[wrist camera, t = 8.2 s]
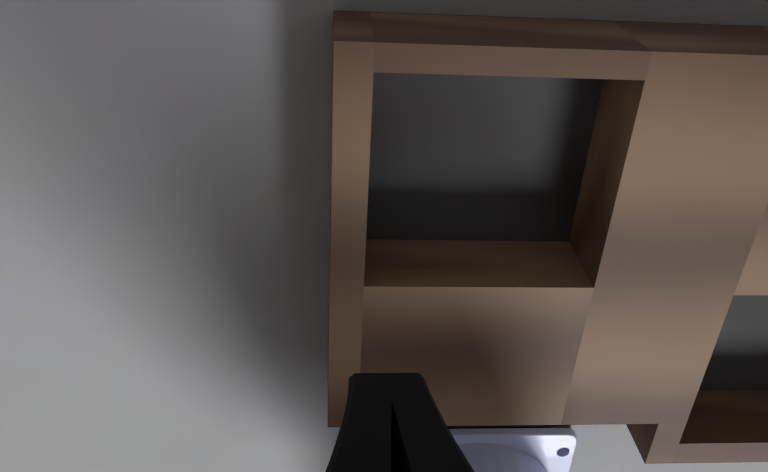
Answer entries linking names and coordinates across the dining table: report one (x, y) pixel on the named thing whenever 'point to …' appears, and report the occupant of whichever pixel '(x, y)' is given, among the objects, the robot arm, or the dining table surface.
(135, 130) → the dining table surface
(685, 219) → the trap board
